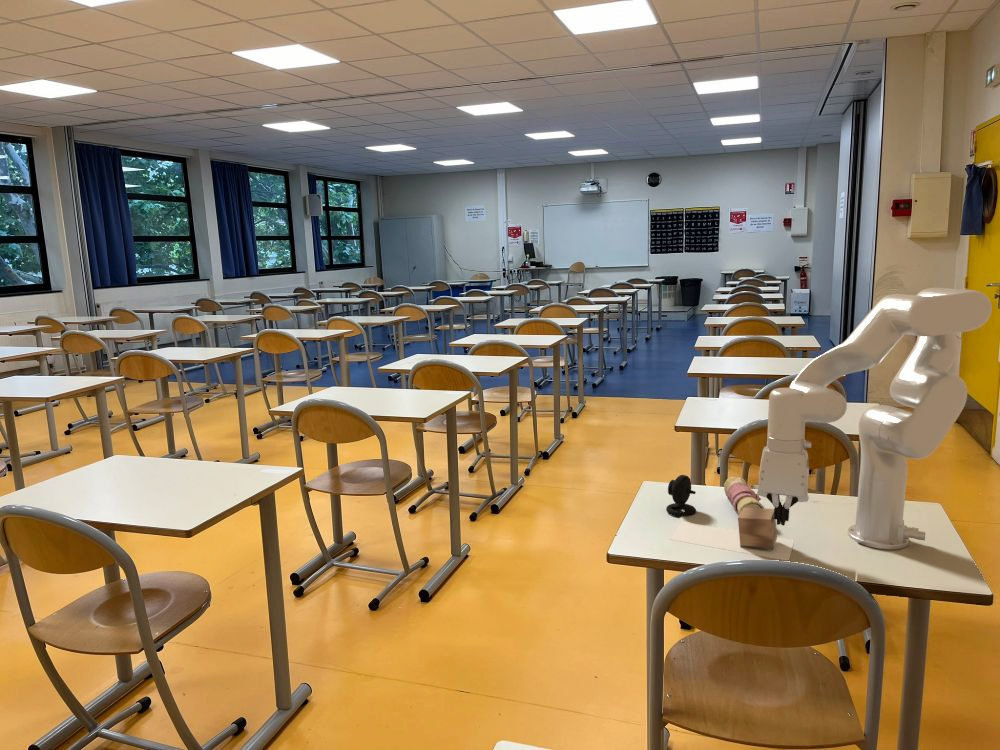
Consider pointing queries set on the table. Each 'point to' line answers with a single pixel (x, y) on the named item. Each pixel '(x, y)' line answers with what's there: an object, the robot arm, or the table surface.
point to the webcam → (680, 496)
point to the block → (757, 528)
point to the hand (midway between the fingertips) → (781, 522)
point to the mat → (728, 540)
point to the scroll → (741, 494)
